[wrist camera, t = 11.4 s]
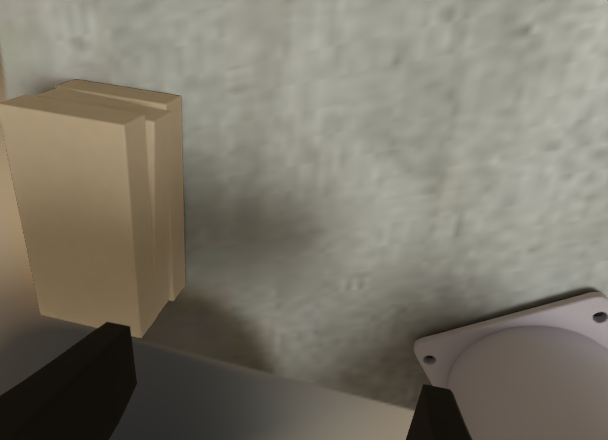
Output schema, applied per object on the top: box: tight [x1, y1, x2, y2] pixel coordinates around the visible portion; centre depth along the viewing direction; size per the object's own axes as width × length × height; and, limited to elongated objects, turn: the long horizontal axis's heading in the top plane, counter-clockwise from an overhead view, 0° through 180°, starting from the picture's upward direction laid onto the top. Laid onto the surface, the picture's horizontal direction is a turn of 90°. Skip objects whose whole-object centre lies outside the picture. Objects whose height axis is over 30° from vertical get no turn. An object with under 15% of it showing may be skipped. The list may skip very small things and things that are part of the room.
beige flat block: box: [55, 79, 186, 301], centre depth 21 cm, size 9×5×1 cm, turn 174°
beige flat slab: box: [0, 95, 157, 338], centre depth 18 cm, size 9×5×1 cm, turn 174°
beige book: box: [36, 88, 171, 315], centre depth 20 cm, size 9×5×1 cm, turn 171°
